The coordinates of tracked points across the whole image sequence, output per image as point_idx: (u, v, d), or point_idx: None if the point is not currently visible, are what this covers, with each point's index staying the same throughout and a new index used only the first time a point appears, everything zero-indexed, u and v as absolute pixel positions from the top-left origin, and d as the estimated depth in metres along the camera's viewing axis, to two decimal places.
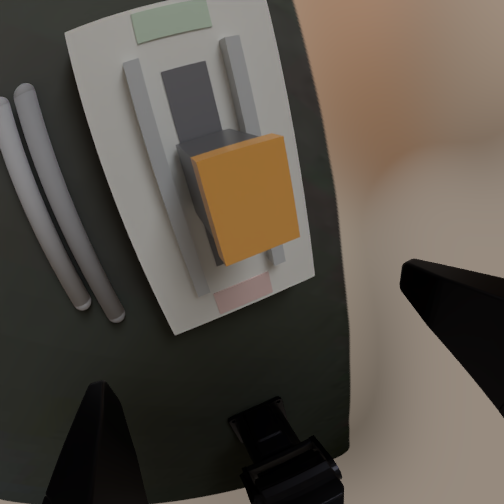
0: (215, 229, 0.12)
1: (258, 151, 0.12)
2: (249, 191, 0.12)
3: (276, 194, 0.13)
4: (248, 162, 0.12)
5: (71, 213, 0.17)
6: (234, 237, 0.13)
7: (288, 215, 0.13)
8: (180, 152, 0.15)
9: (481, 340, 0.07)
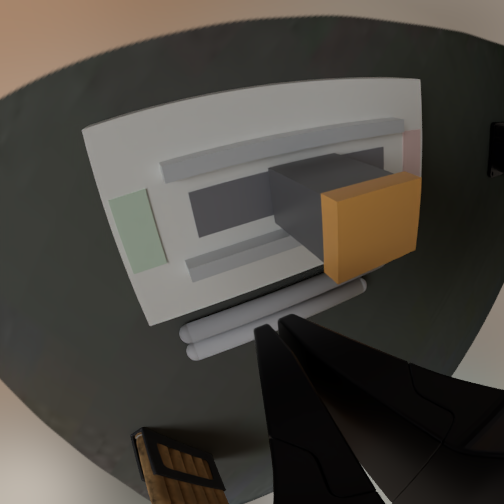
0: (388, 260, 0.13)
1: (345, 228, 0.11)
2: (373, 234, 0.12)
3: (384, 205, 0.11)
4: (351, 237, 0.11)
5: (296, 292, 0.23)
6: (400, 244, 0.13)
7: (402, 191, 0.12)
8: None
9: (358, 430, 0.06)
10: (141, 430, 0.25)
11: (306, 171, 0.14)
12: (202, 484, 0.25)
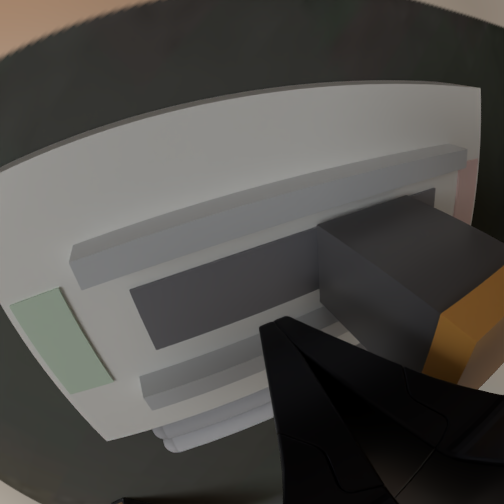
0: None
1: (468, 370, 0.05)
2: (491, 358, 0.06)
3: None
4: (469, 377, 0.06)
5: None
6: None
7: None
8: None
9: (352, 434, 0.06)
10: (122, 501, 0.18)
11: (384, 238, 0.08)
12: None
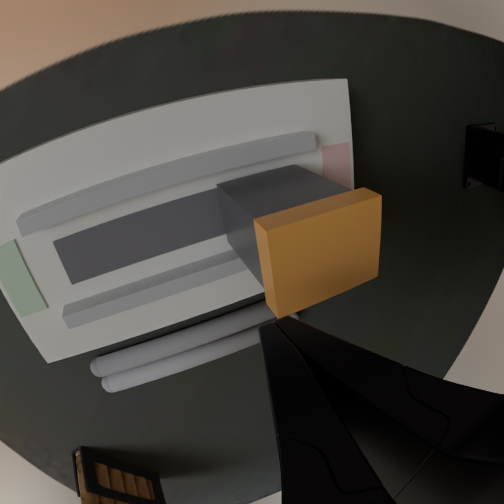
0: (342, 290, 0.12)
1: (280, 259, 0.10)
2: (319, 264, 0.11)
3: (331, 231, 0.10)
4: (289, 269, 0.10)
5: (207, 331, 0.21)
6: (356, 272, 0.12)
7: (356, 213, 0.10)
8: None
9: (353, 433, 0.06)
10: (80, 449, 0.23)
11: (253, 188, 0.13)
12: None
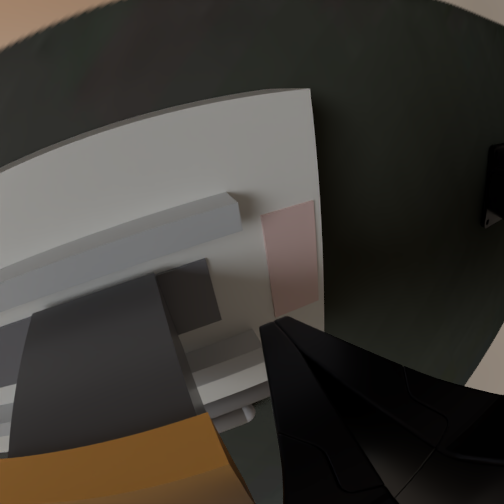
0: None
1: None
2: None
3: None
4: None
5: None
6: None
7: (161, 494, 0.04)
8: None
9: (352, 433, 0.06)
10: None
11: (54, 347, 0.06)
12: None
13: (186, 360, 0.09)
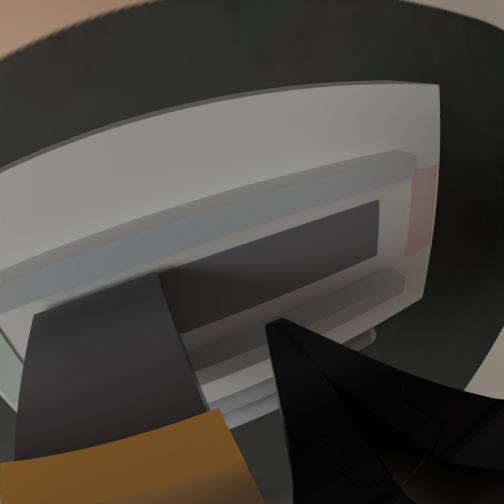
0: None
1: None
2: None
3: None
4: None
5: (249, 392, 0.16)
6: None
7: (174, 492, 0.04)
8: None
9: None
10: None
11: (58, 347, 0.06)
12: None
13: (189, 359, 0.09)
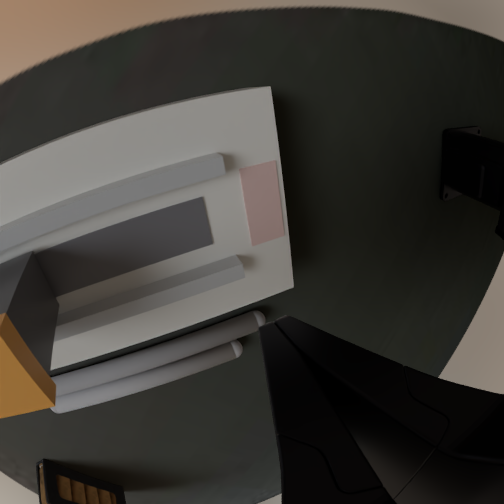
0: (19, 413, 0.08)
1: None
2: None
3: None
4: None
5: (141, 360, 0.19)
6: (21, 400, 0.08)
7: None
8: None
9: (353, 433, 0.06)
10: (42, 461, 0.21)
11: None
12: None
13: (52, 310, 0.12)
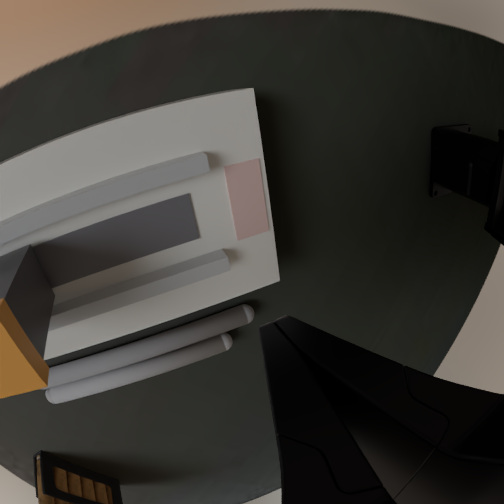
0: (14, 393, 0.09)
1: None
2: None
3: None
4: None
5: (134, 351, 0.20)
6: (16, 381, 0.09)
7: None
8: None
9: (353, 433, 0.06)
10: (39, 453, 0.22)
11: None
12: None
13: (48, 300, 0.13)
